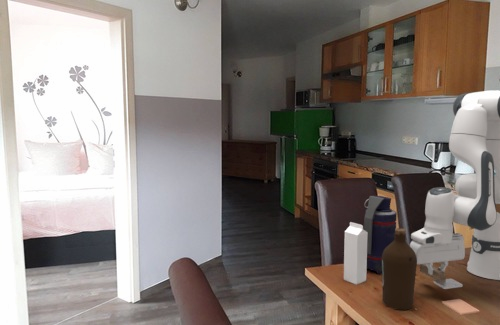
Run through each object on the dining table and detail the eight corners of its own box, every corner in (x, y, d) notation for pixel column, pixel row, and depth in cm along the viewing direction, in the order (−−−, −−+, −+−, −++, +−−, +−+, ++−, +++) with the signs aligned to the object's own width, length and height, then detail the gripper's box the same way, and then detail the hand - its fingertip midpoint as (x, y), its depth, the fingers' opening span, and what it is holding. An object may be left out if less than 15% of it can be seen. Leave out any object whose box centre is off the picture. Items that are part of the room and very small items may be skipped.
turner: (430, 269, 139) (431, 261, 139) (462, 286, 125) (462, 277, 124) (414, 271, 138) (414, 263, 137) (444, 289, 123) (444, 280, 123)
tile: (459, 298, 126) (479, 310, 118) (459, 303, 126) (479, 315, 119) (441, 301, 125) (460, 313, 117) (441, 306, 125) (460, 318, 117)
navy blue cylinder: (376, 261, 162) (378, 192, 159) (400, 270, 152) (403, 197, 149) (354, 268, 154) (355, 196, 151) (378, 278, 144) (380, 201, 141)
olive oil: (419, 302, 125) (422, 228, 123) (408, 314, 117) (411, 236, 115) (387, 292, 132) (390, 223, 130) (375, 304, 124) (377, 230, 122)
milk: (353, 275, 147) (354, 220, 145) (366, 280, 142) (368, 223, 140) (343, 279, 144) (344, 223, 141) (356, 285, 139) (357, 226, 137)
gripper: (456, 230, 136) (454, 267, 137) (406, 234, 131) (405, 272, 132) (470, 235, 129) (468, 273, 131) (418, 239, 125) (417, 280, 126)
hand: (436, 273), depth 132 cm, fingers closed on turner, 2 cm apart
